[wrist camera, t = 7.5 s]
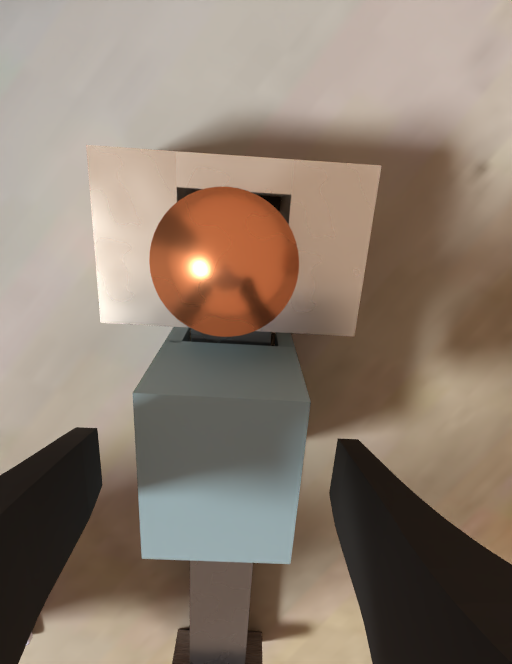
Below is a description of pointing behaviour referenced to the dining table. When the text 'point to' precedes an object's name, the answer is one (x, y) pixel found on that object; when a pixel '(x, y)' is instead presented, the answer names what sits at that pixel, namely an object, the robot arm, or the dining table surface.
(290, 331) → the grey rectangular block
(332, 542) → the dining table surface
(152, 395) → the carriage
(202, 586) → the rail
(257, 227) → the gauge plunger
